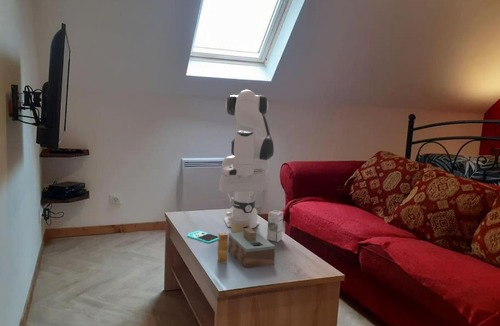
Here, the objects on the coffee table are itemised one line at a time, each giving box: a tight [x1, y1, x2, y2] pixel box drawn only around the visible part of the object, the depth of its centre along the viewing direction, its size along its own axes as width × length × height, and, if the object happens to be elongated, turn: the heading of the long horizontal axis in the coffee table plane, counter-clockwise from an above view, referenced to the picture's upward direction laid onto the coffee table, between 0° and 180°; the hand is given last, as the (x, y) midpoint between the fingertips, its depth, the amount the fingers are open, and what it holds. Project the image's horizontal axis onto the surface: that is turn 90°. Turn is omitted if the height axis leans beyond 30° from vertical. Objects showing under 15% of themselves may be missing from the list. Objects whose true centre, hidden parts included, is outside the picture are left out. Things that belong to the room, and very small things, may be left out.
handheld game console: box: [186, 230, 218, 244], centre depth 205 cm, size 10×16×1 cm, turn 54°
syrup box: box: [266, 209, 284, 243], centre depth 204 cm, size 6×6×14 cm
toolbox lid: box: [228, 228, 276, 252], centre depth 177 cm, size 20×13×5 cm, turn 24°
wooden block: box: [217, 232, 229, 264], centre depth 172 cm, size 3×3×13 cm
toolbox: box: [227, 236, 276, 269], centre depth 178 cm, size 20×13×8 cm, turn 24°
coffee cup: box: [230, 216, 250, 233], centre depth 199 cm, size 9×9×12 cm
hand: (242, 201), depth 174 cm, fingers open, 8 cm apart
